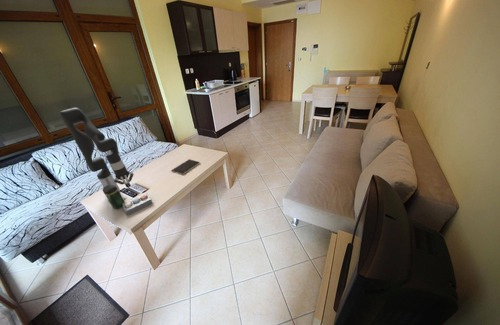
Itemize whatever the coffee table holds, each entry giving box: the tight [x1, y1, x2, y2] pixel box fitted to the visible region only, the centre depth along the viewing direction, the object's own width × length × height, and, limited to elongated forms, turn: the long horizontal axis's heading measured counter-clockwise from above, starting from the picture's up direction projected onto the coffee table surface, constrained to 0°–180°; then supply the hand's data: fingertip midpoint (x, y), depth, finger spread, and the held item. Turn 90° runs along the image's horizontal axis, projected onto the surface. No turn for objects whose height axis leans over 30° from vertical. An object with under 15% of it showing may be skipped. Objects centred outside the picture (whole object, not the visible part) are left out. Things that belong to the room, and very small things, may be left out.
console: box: [122, 192, 153, 217], centre depth 147 cm, size 12×18×4 cm, turn 131°
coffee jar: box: [102, 185, 126, 210], centre depth 145 cm, size 10×8×19 cm
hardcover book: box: [171, 158, 201, 176], centre depth 191 cm, size 16×23×2 cm
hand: (128, 186), depth 139 cm, fingers closed
